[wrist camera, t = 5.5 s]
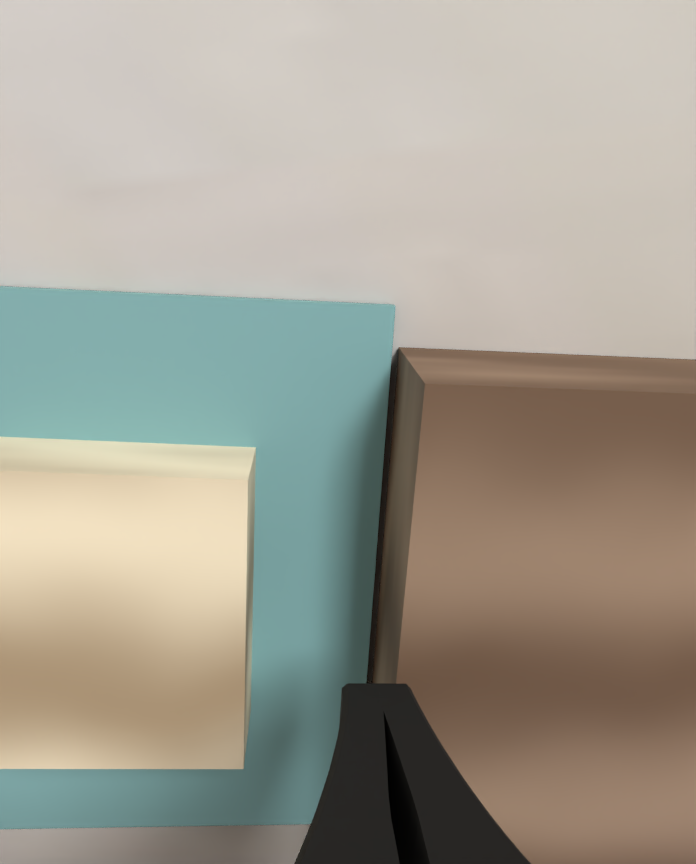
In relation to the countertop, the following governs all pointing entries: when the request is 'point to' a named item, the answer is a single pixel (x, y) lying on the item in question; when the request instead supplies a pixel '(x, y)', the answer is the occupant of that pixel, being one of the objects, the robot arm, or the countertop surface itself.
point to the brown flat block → (550, 591)
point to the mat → (273, 526)
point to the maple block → (125, 604)
